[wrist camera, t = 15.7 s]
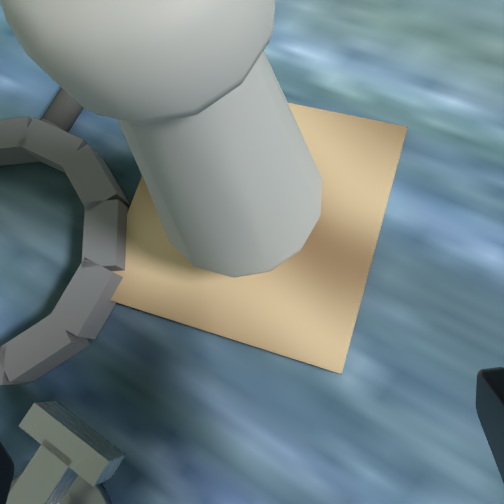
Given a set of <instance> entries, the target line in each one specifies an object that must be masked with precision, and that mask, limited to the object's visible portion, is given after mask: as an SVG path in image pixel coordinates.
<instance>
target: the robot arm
mask: <svg viewBox="0 0 504 504" xmlns="http://www.w3.org/2000/svg"><path fill="white" fill-rule="evenodd" d="M476 410H477V414H478V417H479V420H480V422H481V425H482V428H483V430H484V433H485V435H486V438H487V441H488V443H489V446H490V448H491V451H492V454H493V456H494V459H495V461H496V464H497V467H498V469H499V472H500V475H501V477H502V480H503V482H504V368H503V367H497V368H489V369H482V370H480V371H479V372H478V374H477V386H476ZM13 475H14V464H13V461H12V459H11V458H10V456H9V454H8V453H7V451H6V450H5V448H4V447H3V445H2V444H1V442H0V504H6V502H7V498H8V494H9V491H10V487H11V483H12V479H13Z"/></svg>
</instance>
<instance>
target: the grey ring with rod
mask: <svg viewBox="0 0 504 504" xmlns="http://www.w3.org/2000/svg"><path fill="white" fill-rule="evenodd" d="M82 110H83V107H82V106H81V105H80V104H79V103H78V102H77V101H76V100H75V99H74V98H72V97H71V96H70V95H69V94H68V93H67V92H66V91H65V90H64V89H63V88H61V89H60V91H59V92H58V94H57V95H56V97H55V99H54V100H53V102H52V103H51V105H50V106H49V108H48V109H47V111H46V112H45V114H44V115H43V117H42V119H41V120H39V119H37V118H35V117H34V118H33V120H32V119H31V118H29V117H19V118H11V119H2V120H0V166H4V165H14V164H23V163H33V162H42V163H44V164H47V165H49V166H51V167H53V168H55V169H57V170H59V171H61V172H63V173H65V174H66V175H67V177H68V178H69V180H70V182H71V184H72V186H73V187H74V189H75V191H76V193H77V195H78V196H79V198H80V200H81V202H82V204H83V205H84V207H85V212H84V229H83V247H82V262H81V264H80V266H79V268H78V269H77V271H76V273H75V274H74V276H73V278H72V279H71V281H70V283H69V284H68V286H67V288H66V289H65V291H64V293H63V294H62V296H61V298H60V300H59V301H58V303H57V305H56V306H55V308H54V310H53V311H52V313H51V314H50V315H48V316H47V317H45V318H44V319H42V320H41V321H39V322H38V323H36V324H35V325H33V326H32V327H30V328H28V329H27V330H25V331H24V332H22V333H21V334H19V335H18V336H16V337H15V338H13V339H11V340H10V341H8V342H7V343H5V344H4V345H2V346H1V347H0V385H21V384H27V382H34V381H35V380H37V379H39V378H40V377H42V376H43V375H45V374H46V373H48V372H49V371H51V370H52V369H54V368H55V367H57V366H59V365H60V364H62V363H63V362H65V361H66V360H68V359H69V358H71V357H72V356H74V355H75V354H77V353H78V352H80V351H82V350H83V349H85V348H86V347H88V346H89V345H90V344H89V342H88V340H87V338H89V339H96V337H97V336H98V334H99V332H100V330H101V329H102V327H103V325H104V323H105V322H106V320H107V318H108V316H109V315H110V313H111V311H112V309H113V308H114V306H115V304H116V302H114V301H111V300H110V299H111V298H112V296H113V294H114V292H115V291H116V289H117V287H118V286H119V284H120V282H121V280H122V279H123V277H122V276H120V275H118V274H116V273H114V272H112V271H123V270H125V259H126V228H127V213H128V210H129V207H130V203H129V202H128V200H127V198H126V196H125V195H124V193H123V191H122V190H121V188H120V186H119V185H118V183H117V181H116V180H115V178H114V176H113V174H112V173H111V171H110V169H109V168H108V166H107V164H106V163H105V161H104V159H103V158H102V157H101V156H100V155H99V154H98V153H97V152H96V151H95V150H94V149H93V148H92V147H91V146H90V145H89V144H87V143H86V142H85V141H84V140H83V139H81V138H79V137H77V136H74V135H72V134H70V133H68V132H69V130H70V129H71V127H72V125H73V124H74V122H75V121H76V119H77V117H78V116H79V114H80V113H81V111H82Z"/></svg>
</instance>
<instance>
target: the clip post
mask: <svg viewBox="0 0 504 504" xmlns="http://www.w3.org/2000/svg"><path fill="white" fill-rule="evenodd" d="M20 476H21V475H19V476H18V477H17V478H15V479H14V480H13V481H12V483H11V487H10V491H11V489H12V488H13V486H14V485H15V483H16V482H17V480H18V479H19V477H20ZM10 491H9V492H10ZM60 504H112V503H111V500H110V498H109V496H108V494H107V492H106V490H105V489H104V487H103V486H102V484H101V483H100V484H97V485H95V486H92V485H91V484H89V483H88V482H87V481H86V480H84V479H83V478H82V477H81V476H79V475H78V476H77V478H76V479H75V481H74V482H73V484H72V486H71V487H70V489H69V490H68V492H67V493H66V495H65V496H64V498H63V500H62V501H61V503H60Z"/></svg>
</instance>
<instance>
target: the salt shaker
mask: <svg viewBox="0 0 504 504" xmlns="http://www.w3.org/2000/svg"><path fill="white" fill-rule="evenodd" d="M1 4H2V7H3V11H4V14H5V18H6V21H7V22H8V24H9V26H10V27H11V29H12V31H13V32H14V34H15V36H16V37H17V39H18V40H19V42H20V44H21V45H22V47H23V49H24V50H25V52H26V54H27V55H28V56H29V57H30V58H31V59H32V60H33V61H34V62H35V63H36V64H37V65H38V66H39V67H40V68H42V69H43V70H44V71H45V72H46V73H47V74H48V75H49V76H50V77H51V78H52V79H53V80H54V81H55V82H56V83H57V84H58V85H59V86H60V87H62V88H63V89H64V90H65V91H66V92H67V93H68V94H69V95H70V96H71V97H72V98H74V99H75V100H76V101H77V102H78V103H79V104H80V105H81V106H82V107H83V108H84V109H86V110H88V111H91V112H93V113H95V114H97V115H102V116H106V117H111V118H116V119H117V120H118V123H119V125H120V127H121V129H122V132H123V134H124V136H125V138H126V141H127V143H128V145H129V147H130V149H131V152H132V154H133V156H134V158H135V161H136V163H137V165H138V167H139V170H140V172H141V174H142V176H143V178H144V181H145V183H146V185H147V188H148V190H149V193H150V196H151V198H152V201H153V203H154V206H155V208H156V211H157V213H158V216H159V218H160V221H161V223H162V226H163V228H164V231H165V233H166V236H167V238H168V241H169V242H170V243H171V244H172V245H173V246H174V247H175V248H176V249H177V250H178V251H179V252H180V253H181V254H182V255H183V256H184V257H185V258H186V259H187V260H188V261H189V262H190V263H191V264H192V265H194V266H195V267H198V268H201V269H205V270H208V271H212V272H215V273H219V274H222V275H226V276H229V277H233V278H235V277H241V276H247V275H253V274H259V273H265V272H270V271H272V270H273V269H275V268H276V267H277V266H279V265H280V264H282V263H283V262H285V261H286V260H288V259H289V258H291V257H292V256H293V255H295V254H296V253H298V252H299V251H300V250H301V249H302V247H303V245H304V244H305V242H306V240H307V238H308V237H309V235H310V233H311V231H312V230H313V228H314V226H315V225H316V223H317V221H318V219H319V217H320V215H321V194H322V177H321V175H320V173H319V171H318V168H317V166H316V164H315V162H314V160H313V157H312V155H311V153H310V151H309V148H308V146H307V144H306V142H305V140H304V137H303V135H302V133H301V131H300V129H299V127H298V124H297V122H296V120H295V118H294V116H293V114H292V111H291V109H290V107H289V105H288V103H287V100H286V98H285V96H284V94H283V92H282V90H281V87H280V85H279V83H278V81H277V79H276V76H275V74H274V72H273V70H272V68H271V66H270V63H269V61H268V59H267V57H266V55H265V52H264V49H265V48H266V46H267V44H268V43H269V41H270V37H271V34H272V31H273V25H274V11H275V0H1Z"/></svg>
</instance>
